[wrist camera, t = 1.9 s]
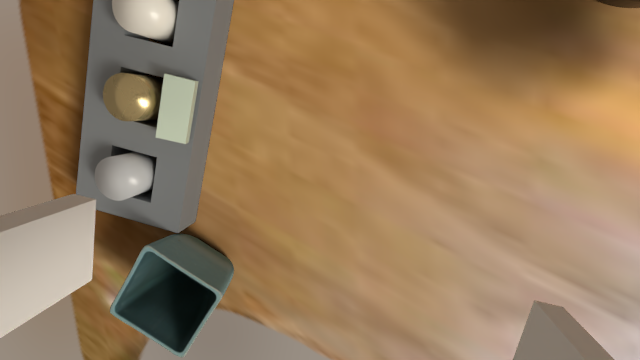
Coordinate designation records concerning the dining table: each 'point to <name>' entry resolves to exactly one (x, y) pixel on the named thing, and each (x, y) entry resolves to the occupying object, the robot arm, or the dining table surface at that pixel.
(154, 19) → the white rounded piece
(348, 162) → the dining table surface
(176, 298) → the flower pot
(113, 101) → the brass button
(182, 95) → the block
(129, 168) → the white rounded dome
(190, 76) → the console
